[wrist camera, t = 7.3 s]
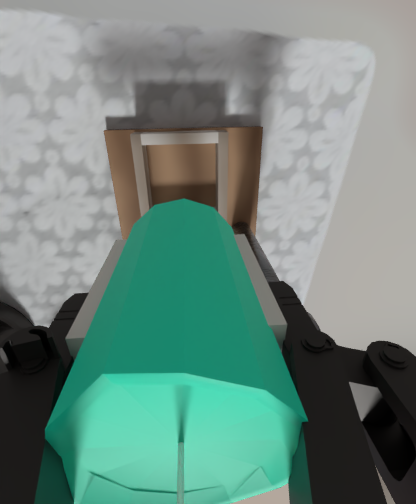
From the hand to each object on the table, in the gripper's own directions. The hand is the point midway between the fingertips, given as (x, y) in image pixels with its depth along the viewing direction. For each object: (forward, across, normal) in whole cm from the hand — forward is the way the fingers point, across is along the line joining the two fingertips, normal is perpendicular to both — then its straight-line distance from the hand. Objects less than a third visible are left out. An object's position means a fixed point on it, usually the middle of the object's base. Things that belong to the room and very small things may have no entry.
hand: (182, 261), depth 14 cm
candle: (+2, 0, 0) cm, 2 cm away
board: (+21, 0, -2) cm, 21 cm away
